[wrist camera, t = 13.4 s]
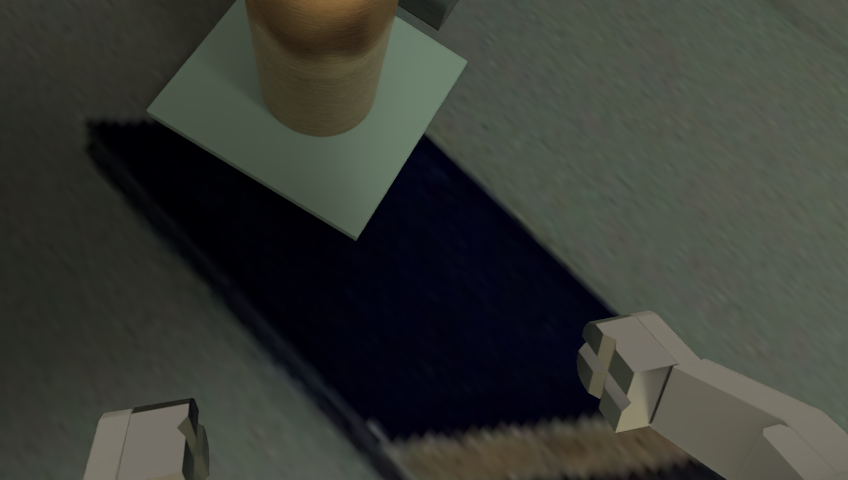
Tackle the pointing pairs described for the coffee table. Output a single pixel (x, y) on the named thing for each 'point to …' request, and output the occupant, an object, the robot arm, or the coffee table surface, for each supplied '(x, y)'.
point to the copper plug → (320, 59)
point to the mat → (297, 153)
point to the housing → (429, 10)
